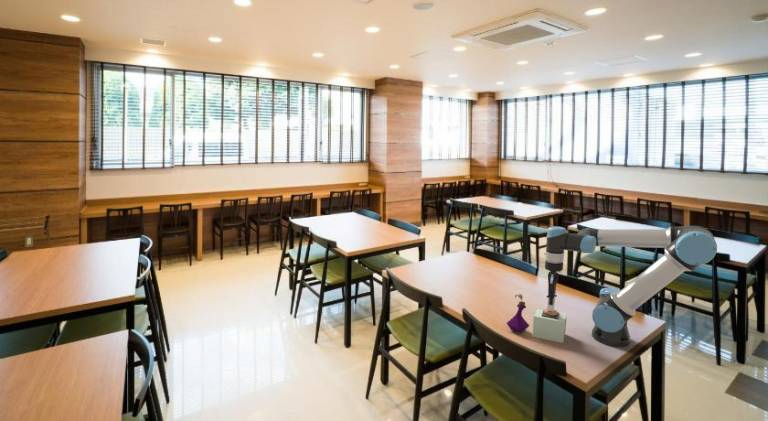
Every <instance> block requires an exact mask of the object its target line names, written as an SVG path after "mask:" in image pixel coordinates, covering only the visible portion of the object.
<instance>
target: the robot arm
mask: <svg viewBox="0 0 768 421" xmlns="http://www.w3.org/2000/svg"><path fill="white" fill-rule="evenodd" d="M597 247H617V248H618V247H619V248H621V247H622V248H660V249H661V248H662V249H663V248H664V254H663V255H662V256H661V257H660V258H659V259H657V260H656V261H654V262H653V263H652V264H651V265H649V267H648V268H646V269H645V270H644V271H643V272H641V273H640V274H639V275H637V276H636V277H635V278H634V279H633V280H632V281H631V282H629V283H628V284H627V285H626V286H625V287H623V288H622V289H618V288H609V287H604V288H601V289H600V291H599V299H598V302H597V304H596V305H595V307H594V308H593V309H592V314H591V317H592V318H591V319H592V322H593V323H594V326H593V328H592V331H591V337H592V338H593V339H594V340H596V341H597V342H599V343H601V344H605V345H607V346H610V347H611V346H612V347H627V346H629V345H630V343H631V335H630V331H629V329H628V328H629V327H628V321H630V320H631V319H632V318H633V317H635V316H636V310H637V309H638V308H639V307H640V306H642V305H643V304H644V303H646V302H647V301H648V300H650V299H651V298H653V297H654V296H655V295H656V294H657V293H659V292H660V291H661V290H663V289H664V288H665V287H666V286H668V285H669V284H670V283H672V281H674V280H675V279H677V278H678V277H679V276H680V275H682V274H683V273H685V272H693V271H695V270H696V269H697V268H699V267H700V266H702V265H705V264H707V263H709V262H711V261H712V260H713V259H714V258H715V256H716V254H717V250H718V244H717V242H716V240H715V236H714V234H713V233H712V232H711V231H710V230H708V229H707V228H705V227H703V226H699V225H685V226H669V227H668V228H666V229H665V228H664V229H661V228H660V229H656V228H655V229H653V228H652V229H651V228H650V229H647V228H646V229H645V228H643V229H641V228H640V229H626V228H625V229H593V228H589V227H588V228H587V227H586V228H583V229H581V230H579V232H577V233H571V232H570V233H568V232H567V230H566V228H565V227H563V226H556V225H554V226H550V227H548V229H547V234H546V248H545V252H544V254H543V255H545V261H544V269H545V270H546V271H549V272H548V274H547V278H548V283H547V284H548V288H547V290H548V292H547V295H546V298H547V308H546V309H547V311H552V312H554V310H555V305H556V304H555V302H556V297H557V293H556V291H557V283H558V279H559V278H558V277H559V272H562V271H563V270H564V261H565V259H564V258H565V251H569V252H570V251H571V252H577V253H581V254H582V253H583V254H594V253H595V251H596V248H597Z"/></svg>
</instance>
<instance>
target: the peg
mask: <svg viewBox="0 0 768 421" xmlns="http://www.w3.org/2000/svg"><path fill="white" fill-rule="evenodd" d="M543 310H544V313H545V314H546V315H549V316H554V317H555V316H556V315H557V312H558V311H557V310H556V309H554V312H552V311H547V308H545V309H543Z"/></svg>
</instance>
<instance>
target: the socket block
mask: <svg viewBox="0 0 768 421" xmlns="http://www.w3.org/2000/svg"><path fill="white" fill-rule="evenodd" d="M544 310H545V309H542V308H536V311H535V312H534V315H533V321H532V322H533V323H532V337H533V338H538V339H542V340H546V341H551V342H554V343H555V342H556V343H560V344H564V341H565V336H566V329H567V328H566V327H567V318H568V317H567V315H568V314H567V313H565V312H560V311H559V312H558V311H557V315H556V316H555V317H554V316H549V315H546V314H545V313H544Z"/></svg>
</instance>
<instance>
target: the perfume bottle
mask: <svg viewBox="0 0 768 421" xmlns="http://www.w3.org/2000/svg"><path fill="white" fill-rule="evenodd" d="M514 297H515V298H517V297H518V298H519V299H520V300H521V301H518V304H516V307H517V308H518V309H517V311H516V314H515V315H514V316H513V317H512V318H510V320H507V322H506V325H507V327H509V329H510V330H511V331H512V332H515V333H516V334H520V333H523V332H525V331H526V330H527V329H528V328H529V327H530V325H529V323H528V321H526V320H525V319H524V317H523V316H522V314H523V313H522V312H523V310H524V309H526V308H527V306H526V302H525V301H523V295H522V293H518V294H515V296H514Z"/></svg>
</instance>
